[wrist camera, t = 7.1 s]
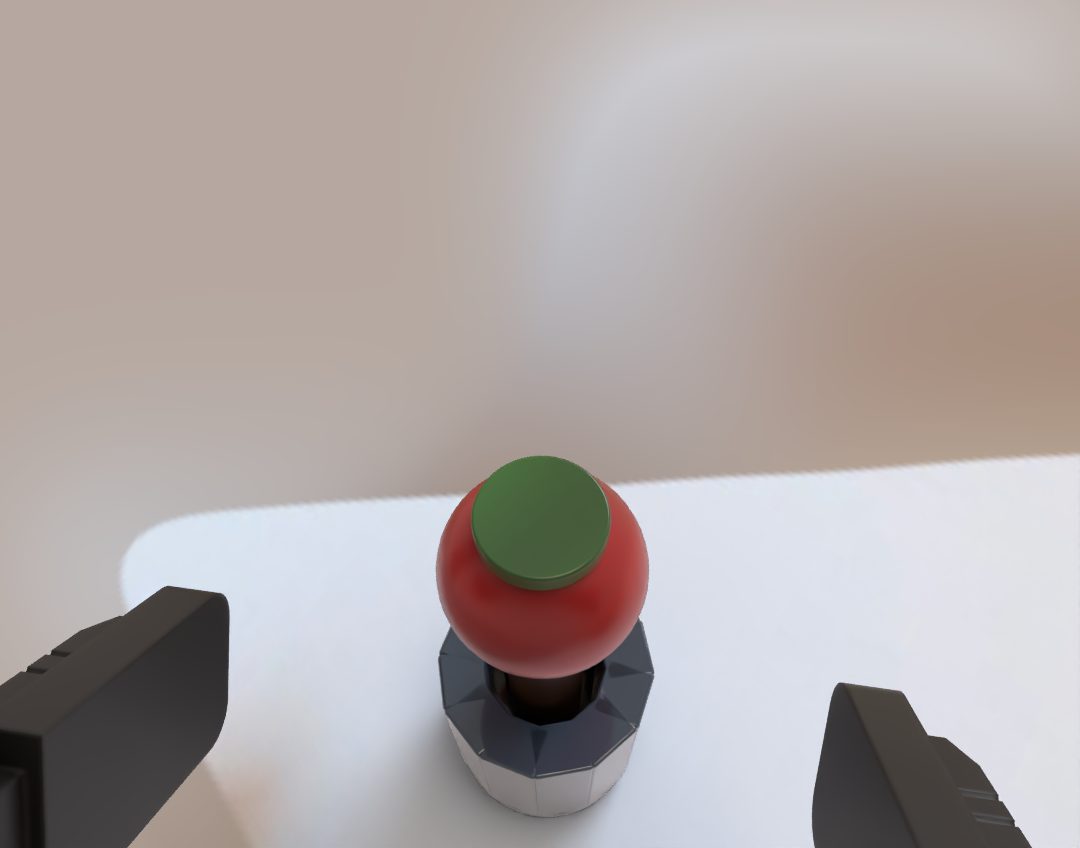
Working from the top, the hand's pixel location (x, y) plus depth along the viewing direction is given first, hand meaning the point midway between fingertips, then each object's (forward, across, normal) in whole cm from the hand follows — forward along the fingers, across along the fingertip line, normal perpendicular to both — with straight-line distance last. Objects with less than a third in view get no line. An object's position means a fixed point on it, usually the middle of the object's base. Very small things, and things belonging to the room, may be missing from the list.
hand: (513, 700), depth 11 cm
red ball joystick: (+10, 0, +6) cm, 11 cm away
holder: (+10, 0, +6) cm, 12 cm away
